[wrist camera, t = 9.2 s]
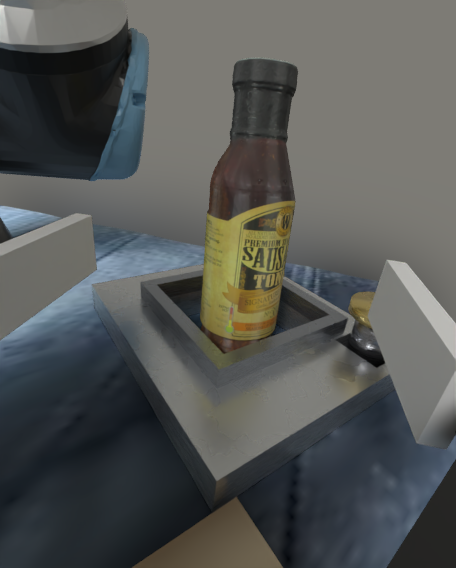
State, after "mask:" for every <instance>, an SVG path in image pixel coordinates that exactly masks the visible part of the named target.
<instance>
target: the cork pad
mask: <svg viewBox="0 0 456 568" xmlns="http://www.w3.org/2000/svg"><path fill="white" fill-rule="evenodd" d="M132 568H283V567H282V565H281V564H280V562H279V561H278V559H277V558H276V556H275V555H274V553H273V551H272V550H271V548H270V547H269V545H268V544H267V542H266V541H265V539H264V538H263V536H262V535H261V533H260V532H259V530H258V529H257V527H256V526H255V524H254V523H253V521H252V520H251V518H250V517H249V515H248V514H247V512H246V511H245V509H244V508H243V506H242V504H241V503H240V501H239V500H238V498H237V497H235V498H234V499H232V500H231V501H229V502H228V503H227V504H225V505H224V506H222V507H221V508H219V509H218V510H216V511H215V512H213V513H212V514H210V515H209V516H207V517H206V518H204V519H203V520H201V521H200V522H198V523H197V524H196V525H194V526H193V527H191V528H190V529H188V530H187V531H185V532H184V533H182V534H181V535H179V536H178V537H176V538H175V539H173V540H172V541H170V542H169V543H167V544H166V545H165V546H163V547H162V548H160V549H159V550H157V551H156V552H154V553H153V554H151V555H150V556H148V557H147V558H145V559H144V560H142V561H141V562H139V563H138V564H136V565H135V566H134V567H132Z"/></svg>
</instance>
